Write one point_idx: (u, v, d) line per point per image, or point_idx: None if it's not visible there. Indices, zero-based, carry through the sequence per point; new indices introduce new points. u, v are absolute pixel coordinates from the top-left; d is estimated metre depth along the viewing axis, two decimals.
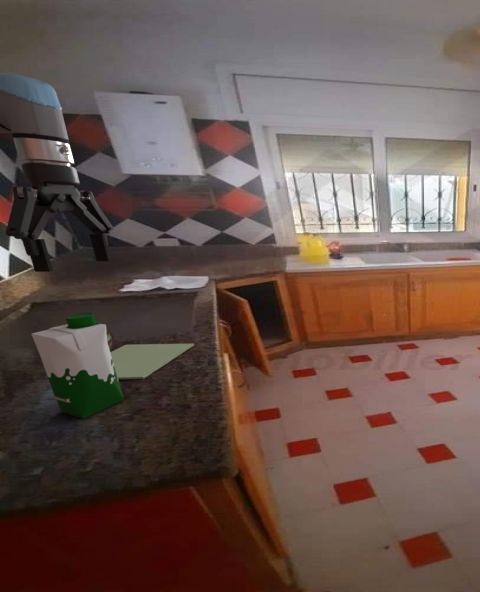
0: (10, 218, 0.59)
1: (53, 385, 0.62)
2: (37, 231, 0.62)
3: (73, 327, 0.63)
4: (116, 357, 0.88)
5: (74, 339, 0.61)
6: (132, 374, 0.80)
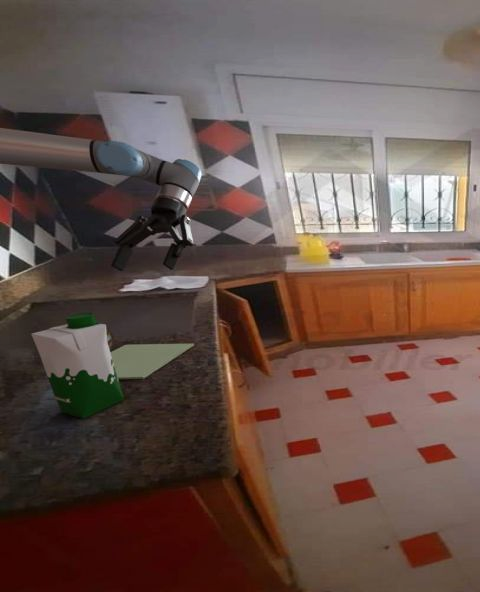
0: (186, 231, 0.85)
1: (53, 385, 0.62)
2: None
3: (73, 327, 0.63)
4: (116, 357, 0.88)
5: (74, 339, 0.61)
6: (132, 374, 0.80)
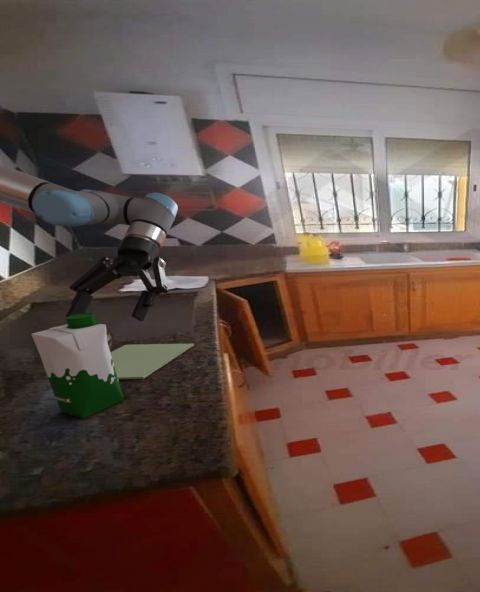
0: (160, 277, 0.76)
1: (53, 385, 0.62)
2: None
3: (73, 327, 0.63)
4: (116, 357, 0.88)
5: (74, 339, 0.61)
6: (132, 374, 0.80)
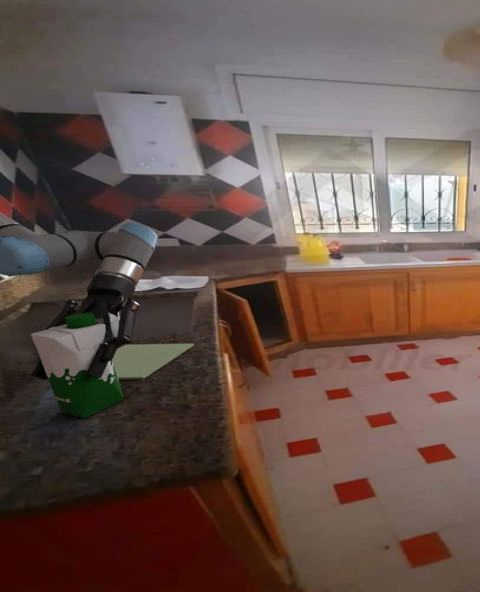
0: (125, 325, 0.68)
1: (53, 385, 0.62)
2: None
3: (72, 327, 0.63)
4: (116, 357, 0.88)
5: (73, 339, 0.61)
6: (132, 374, 0.80)
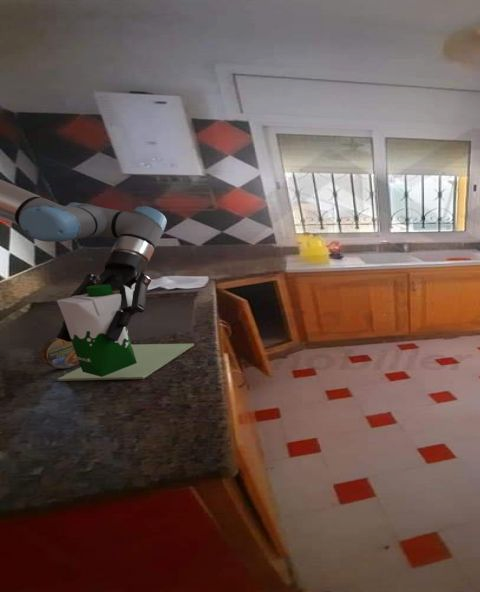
0: (139, 296, 0.76)
1: (76, 346, 0.70)
2: None
3: (93, 295, 0.71)
4: None
5: (94, 305, 0.69)
6: (132, 374, 0.80)
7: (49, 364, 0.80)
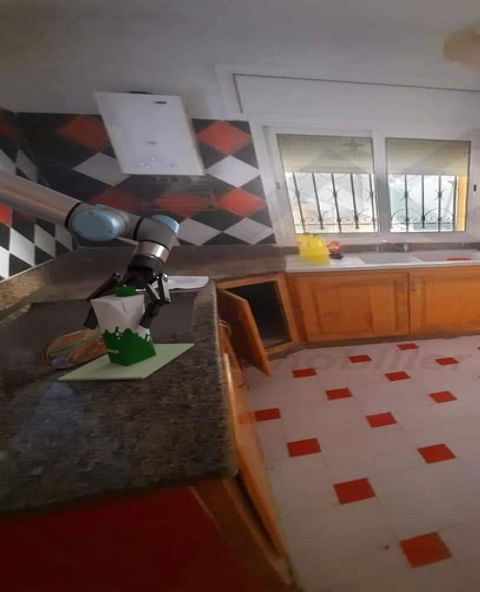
0: (164, 290, 0.87)
1: (106, 339, 0.81)
2: None
3: (120, 296, 0.83)
4: None
5: (122, 304, 0.81)
6: (132, 374, 0.80)
7: (49, 364, 0.80)
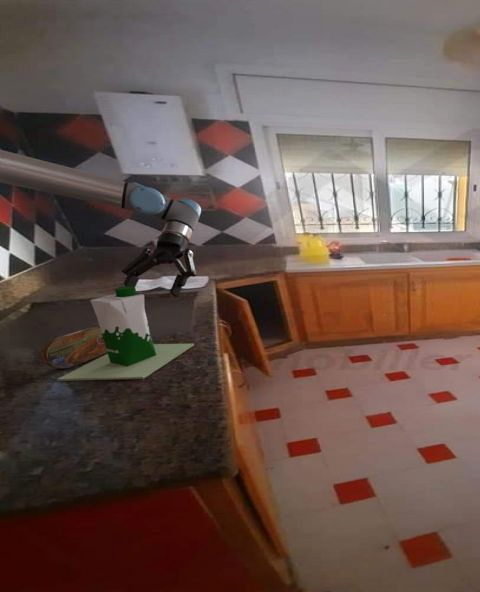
0: (190, 264, 0.98)
1: (106, 339, 0.81)
2: None
3: (120, 296, 0.83)
4: None
5: (122, 304, 0.81)
6: (132, 374, 0.80)
7: (49, 364, 0.80)
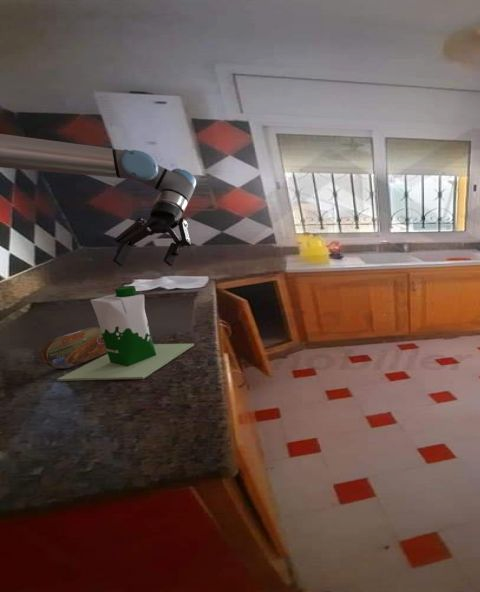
0: (185, 233, 0.96)
1: (106, 339, 0.81)
2: None
3: (120, 296, 0.83)
4: None
5: (122, 304, 0.81)
6: (132, 374, 0.80)
7: (49, 364, 0.80)
